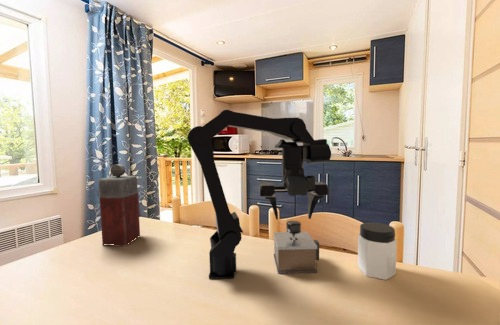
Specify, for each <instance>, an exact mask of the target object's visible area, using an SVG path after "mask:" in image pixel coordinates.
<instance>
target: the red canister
mask: <svg viewBox="0 0 500 325" xmlns="http://www.w3.org/2000/svg"><path fill="white" fill-rule="evenodd" d="M110 173H111V175H112V176H109V177H108V176H107V177H103V178H100V179H99V180H98V196H99V197H98V198H99V210H100V224H101V226H100V227H101V239H102V240H101V241H102V245H103V244H114V245H127V244H128V243H130V242H131V241H132V240H134V239H135V238H137V237H138V236H140V237H141V228H140V203H139V202H140V200H139V191H138V190H139V189H138V178H137V176H135V175H124V174H125V173H126V168H125V166H124V165H123V164H121V163H118V164H116V163H115V164H113V165H111V167H110ZM137 239H138V238H137ZM134 241H135V240H134ZM131 243H132V242H131ZM131 243H130V244H131ZM128 245H129V244H128ZM128 245H127V246H128Z"/></svg>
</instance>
